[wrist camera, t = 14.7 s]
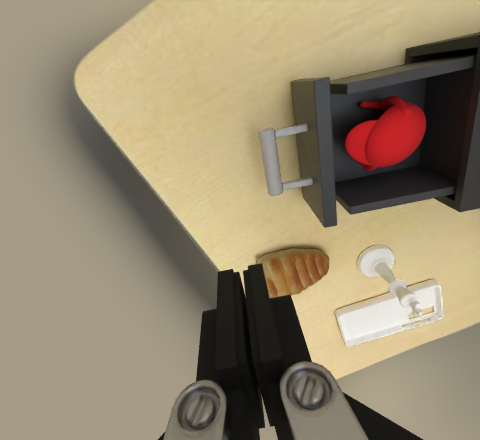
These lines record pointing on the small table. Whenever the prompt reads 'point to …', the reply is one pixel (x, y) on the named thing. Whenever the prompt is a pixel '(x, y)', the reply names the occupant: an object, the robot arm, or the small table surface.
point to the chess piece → (387, 275)
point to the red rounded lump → (387, 134)
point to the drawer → (351, 114)
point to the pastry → (293, 270)
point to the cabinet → (476, 134)
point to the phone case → (387, 314)
